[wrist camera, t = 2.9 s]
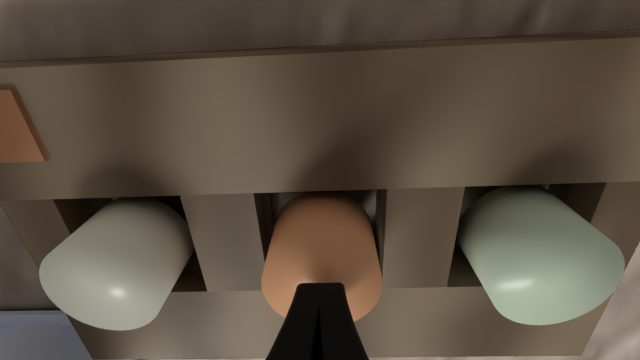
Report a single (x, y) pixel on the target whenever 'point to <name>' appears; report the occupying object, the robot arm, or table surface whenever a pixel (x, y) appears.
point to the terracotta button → (322, 251)
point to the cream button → (119, 264)
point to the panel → (328, 171)
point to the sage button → (538, 255)
